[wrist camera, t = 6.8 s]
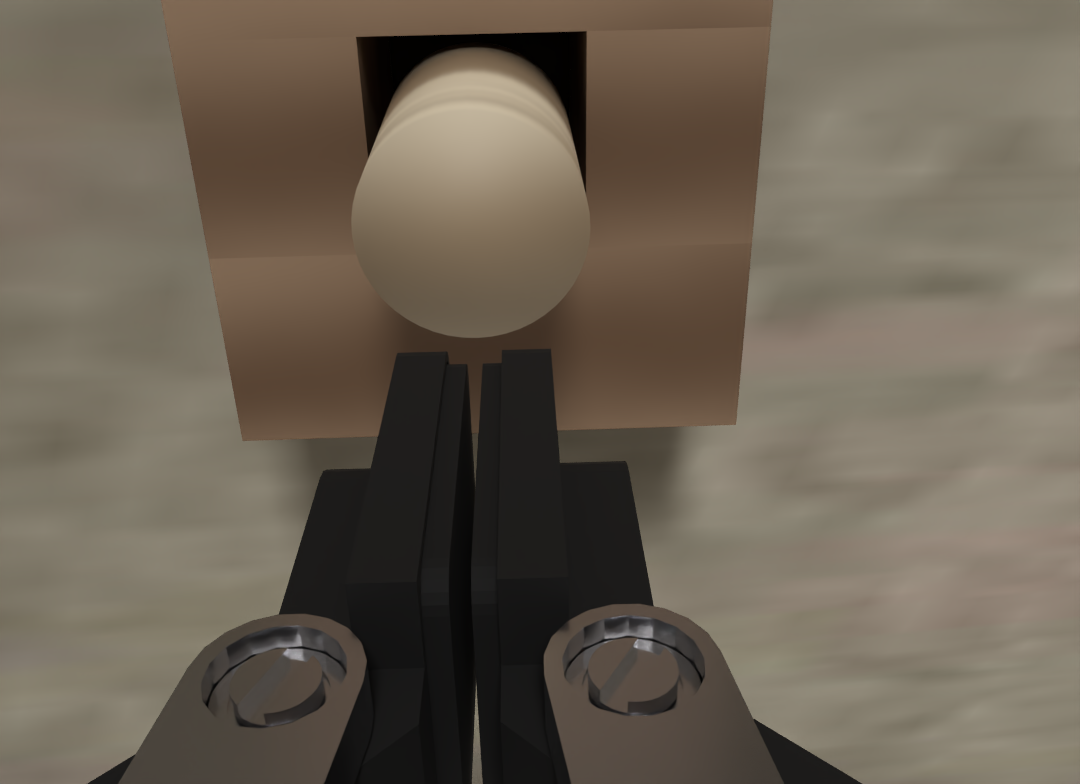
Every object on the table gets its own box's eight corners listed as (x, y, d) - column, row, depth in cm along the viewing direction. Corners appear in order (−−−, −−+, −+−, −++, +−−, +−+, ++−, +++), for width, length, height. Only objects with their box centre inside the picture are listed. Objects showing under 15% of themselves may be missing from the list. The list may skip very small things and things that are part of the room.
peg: (376, 44, 21) (338, 113, 16) (569, 40, 21) (591, 107, 16) (393, 227, 23) (364, 341, 18) (569, 223, 23) (590, 334, 18)
